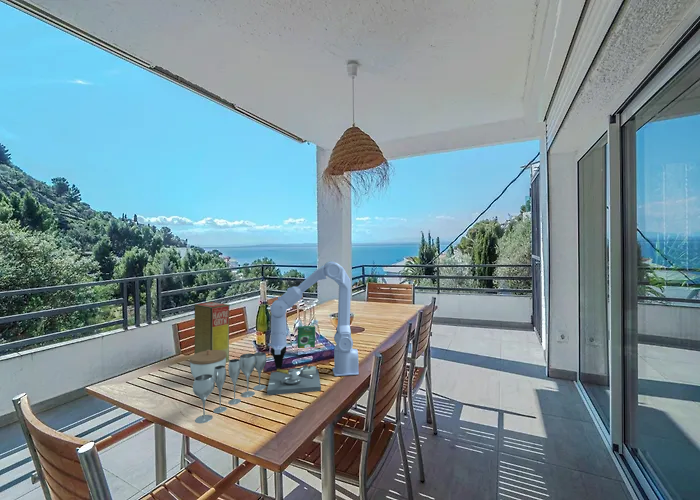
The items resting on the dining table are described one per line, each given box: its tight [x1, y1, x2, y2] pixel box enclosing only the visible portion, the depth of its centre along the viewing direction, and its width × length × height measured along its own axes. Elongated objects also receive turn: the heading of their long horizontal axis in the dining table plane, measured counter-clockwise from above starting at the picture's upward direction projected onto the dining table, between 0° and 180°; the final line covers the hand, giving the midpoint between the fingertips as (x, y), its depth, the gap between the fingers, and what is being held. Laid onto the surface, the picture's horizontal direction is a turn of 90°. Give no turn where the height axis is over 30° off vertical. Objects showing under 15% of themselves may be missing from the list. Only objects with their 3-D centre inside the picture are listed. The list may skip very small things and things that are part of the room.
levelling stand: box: [266, 365, 322, 396], centre depth 114 cm, size 18×16×4 cm
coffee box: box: [296, 324, 316, 348], centre depth 145 cm, size 8×3×13 cm, turn 110°
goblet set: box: [192, 351, 267, 424], centre depth 100 cm, size 28×6×13 cm, turn 154°
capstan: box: [276, 364, 313, 384], centre depth 111 cm, size 15×15×4 cm
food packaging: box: [193, 301, 230, 363], centre depth 137 cm, size 13×9×25 cm
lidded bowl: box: [189, 350, 227, 379], centre depth 118 cm, size 13×13×11 cm
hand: (278, 367), depth 120 cm, fingers closed
